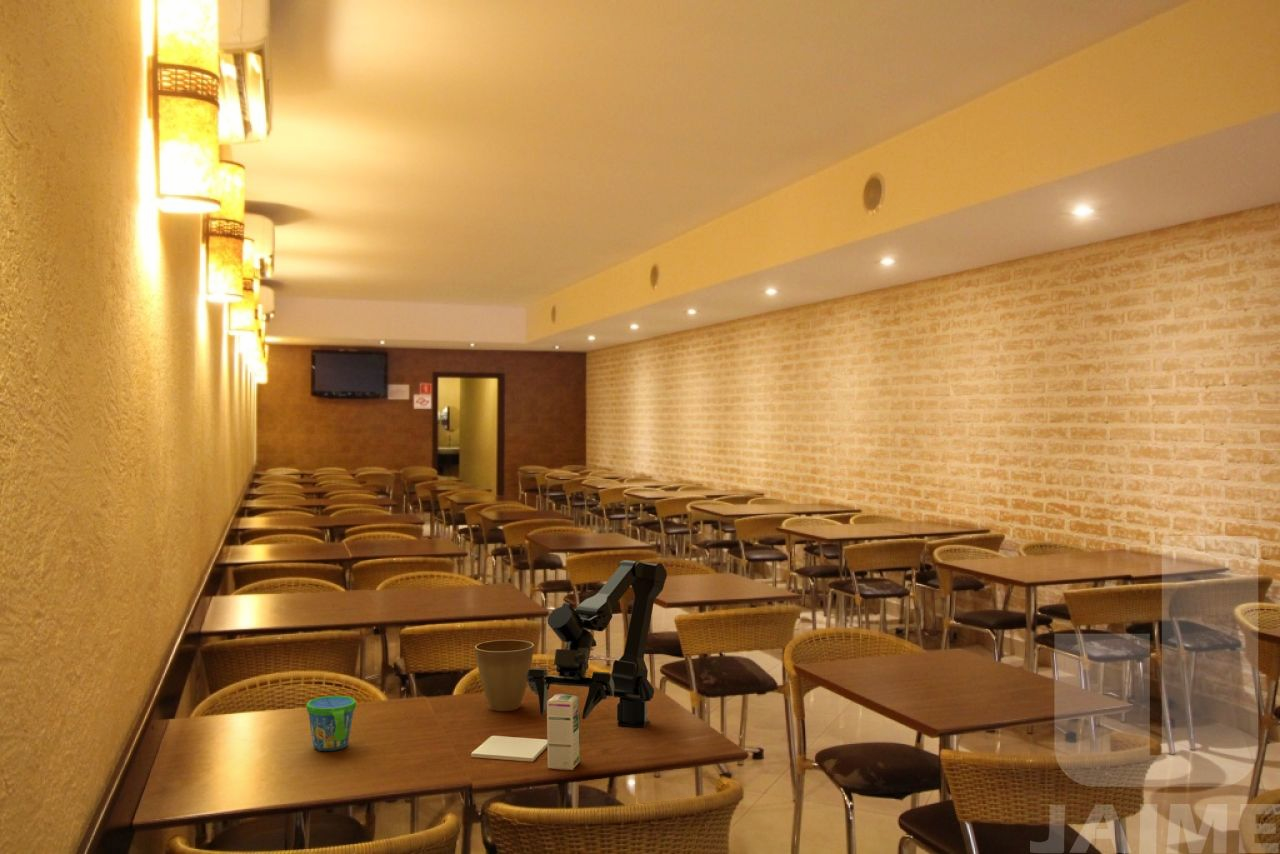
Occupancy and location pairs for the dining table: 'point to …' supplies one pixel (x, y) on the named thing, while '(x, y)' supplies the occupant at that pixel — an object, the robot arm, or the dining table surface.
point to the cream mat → (510, 748)
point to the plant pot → (504, 671)
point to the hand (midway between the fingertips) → (562, 716)
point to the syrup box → (563, 731)
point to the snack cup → (331, 721)
